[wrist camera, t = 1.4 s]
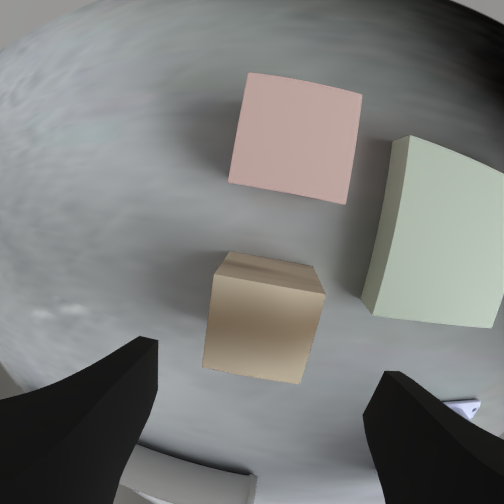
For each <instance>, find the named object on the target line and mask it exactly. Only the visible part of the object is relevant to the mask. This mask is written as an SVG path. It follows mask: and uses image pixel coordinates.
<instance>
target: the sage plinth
mask: <svg viewBox="0 0 504 504" xmlns="http://www.w3.org/2000/svg"><path fill="white" fill-rule="evenodd" d="M503 294H504V174H503V173H501V172H499V171H497V170H495V169H493V168H490V167H488V166H486V165H484V164H482V163H480V162H478V161H475V160H473V159H471V158H469V157H466V156H464V155H462V154H459V153H457V152H454V151H452V150H450V149H447V148H444V147H442V146H439V145H437V144H434V143H431V142H429V141H426V140H423V139H420V138H418V137H415V136H412V135H408V136H406V137H403V138H400V139H397V140H394V141H392V149H391V156H390V163H389V170H388V177H387V183H386V189H385V194H384V200H383V205H382V211H381V216H380V221H379V226H378V230H377V235H376V240H375V244H374V248H373V253H372V257H371V261H370V265H369V269H368V273H367V277H366V281H365V285H364V288H363V292H362V295H361V300H362V302H363V303H364V305H365V306H366V307H367V309H368V310H369V311H370V313H371V314H372V315H373V316H381V317H389V318H397V319H405V320H413V321H422V322H431V323H440V324H450V325H460V326H471V327H482V328H492V325H493V323H494V320H495V317H496V315H497V312H498V309H499V306H500V303H501V300H502V297H503Z"/></svg>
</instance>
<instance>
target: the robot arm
mask: <svg viewBox="0 0 504 504" xmlns="http://www.w3.org/2000/svg"><path fill="white" fill-rule="evenodd" d="M157 391H158V340H155V339H150V338H146V337H142V336H139V337H137V338H135V339H134V340H132V341H130V342H129V343H127V344H125V345H124V346H122V347H121V348H119V349H117V350H116V351H114V352H113V353H111V354H109V355H108V356H106V357H104V358H103V359H101V360H99V361H98V362H96V363H94V364H92V365H91V366H89V367H87V368H85V369H83V370H81V371H79V372H77V373H75V374H73V375H71V376H69V377H67V378H65V379H63V380H61V381H58V382H56V383H54V384H51V385H49V386H46V387H43V388H40V389H38V390H35V391H32V392H29V393H25V394H21V395H17V396H14V397H10V398H6V399H2V400H0V504H113V501H114V498H115V495H116V491H117V488H118V484H119V482H120V479H121V476H122V473H123V471H124V469H125V466H126V464H127V462H128V460H129V458H130V456H131V454H132V451H133V449H134V447H135V445H136V443H137V441H138V439H139V437H140V435H141V433H142V430H143V428H144V426H145V424H146V422H147V420H148V418H149V415H150V412H151V409H152V406H153V403H154V400H155V397H156V394H157ZM480 404H481V402H480V400H479V399H476V400H466V401H453V402H441V401H440V400H439V399H437V398H436V397H435V396H433V395H432V394H431V393H430V392H428V391H427V390H426V389H424V388H423V387H422V386H420V385H419V384H418V383H416V382H415V381H414V380H412V379H411V378H409V377H408V376H406V375H405V374H403V373H402V372H400V371H384V373H383V375H382V378H381V380H380V382H379V384H378V386H377V388H376V390H375V392H374V394H373V396H372V398H371V400H370V402H369V404H368V406H367V408H366V409H365V411H364V413H363V421H364V427H365V433H366V438H367V442H368V445H369V449H370V452H371V455H372V458H373V461H374V464H375V467H376V469H375V473H376V474H378V477H379V480H380V483H381V486H382V490H383V494H384V498H385V503H386V504H504V440H503V439H501V438H499V437H497V436H495V435H493V434H491V433H489V432H487V431H485V430H483V429H482V428H480V427H478V426H476V425H475V424H473V423H472V422H471V419H472V417H473V416H474V414H475V412H476V411H477V409H478V408H479V406H480Z"/></svg>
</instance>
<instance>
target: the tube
mask: <svg viewBox="0 0 504 504" xmlns="http://www.w3.org/2000/svg"><path fill="white" fill-rule="evenodd" d="M257 478H258V476H256V475H252V474H249V475H241V474H236V473H232V472H227V471H223V470H218V469H214V468H210V467H206V466H202V465H199V464H195V463H191V462H188V461H185V460H181V459H178V458H175V457H172V456H168V455H165V454H162V453H160V452H157V451H154V450H151V449H148V448H146V447H143V446H140V445H138V444H136V445H135V447H134V449H133V451H132V454H131V456H130V458H129V460H128V462H127V464H126V466H125V469H124V471H123V473H122V476H121V479H120V482H119V484H121V485H123V486H126V487H128V488H131V489H133V490H136V491H138V492H141V493H144V494H146V495H149V496H152V497H155V498H158V499H161V500H164V501H167V502H170V503H173V504H253V503H254V499H255V495H256V487H257Z"/></svg>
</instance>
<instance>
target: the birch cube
mask: <svg viewBox="0 0 504 504" xmlns="http://www.w3.org/2000/svg"><path fill="white" fill-rule="evenodd" d="M325 296H326V294H325V291H324V289H323V287H322V285H321V283H320V281H319V279H318V276H317V274H316V272H315V270H314V268H313V266H308V265H303V264H297V263H292V262H286V261H281V260H275V259H270V258H265V257H259V256H254V255H248V254H243V253H238V252H232V251H230V252H229V253H228V255H227V256H226V257H225V259H224V260H223V262H222V263H221V265H220V266H219V268H218V269H217V270H216V272H215V273H214V278H213V285H212V292H211V299H210V307H209V314H208V322H207V330H206V338H205V346H204V354H203V362H202V367H204V368H209V369H213V370H218V371H223V372H228V373H233V374H238V375H243V376H249V377H254V378H260V379H266V380H273V381H279V382H286V383H294V384H300V382H301V379H302V376H303V372H304V369H305V366H306V363H307V360H308V356H309V353H310V350H311V346H312V343H313V339H314V336H315V332H316V329H317V325H318V322H319V318H320V315H321V311H322V307H323V303H324V299H325Z"/></svg>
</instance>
